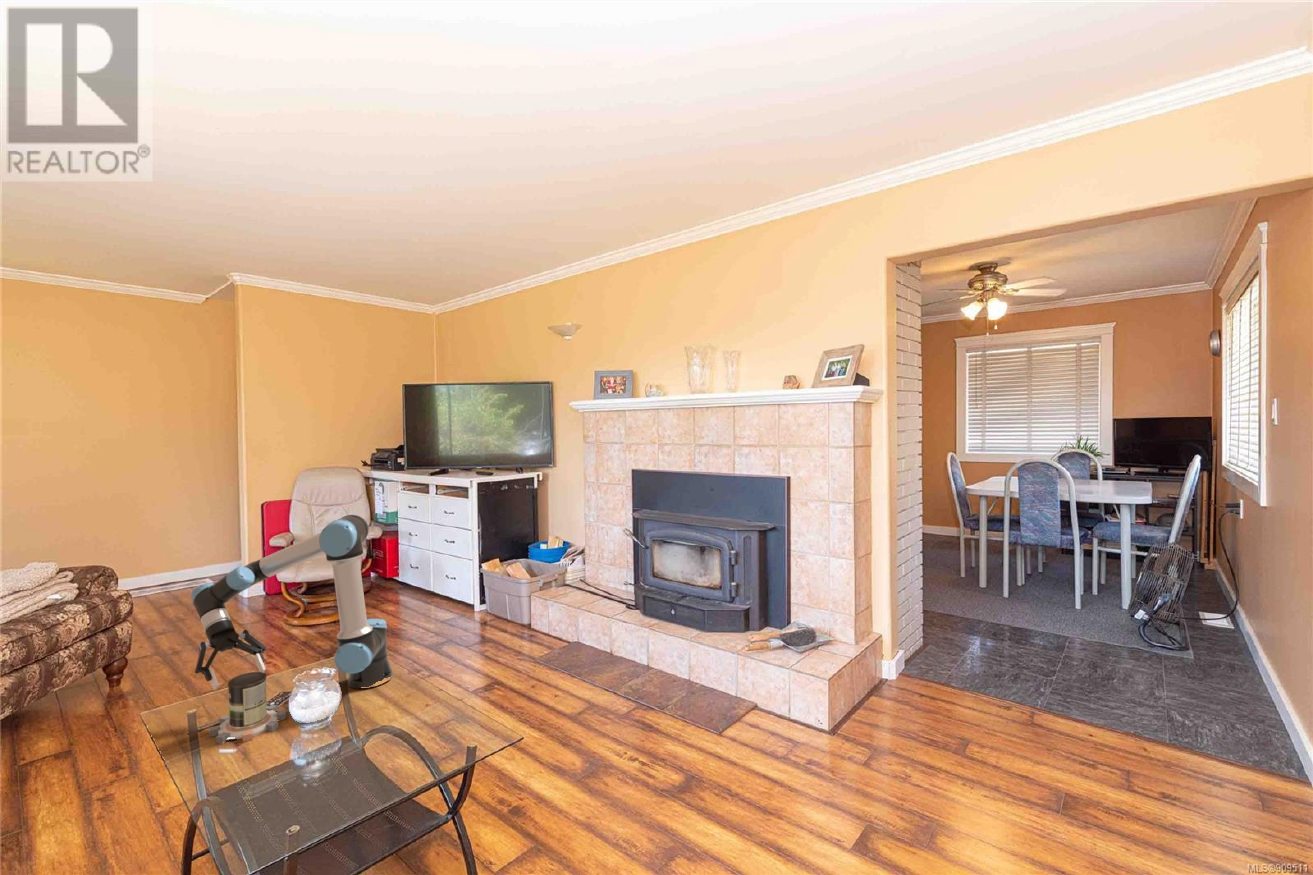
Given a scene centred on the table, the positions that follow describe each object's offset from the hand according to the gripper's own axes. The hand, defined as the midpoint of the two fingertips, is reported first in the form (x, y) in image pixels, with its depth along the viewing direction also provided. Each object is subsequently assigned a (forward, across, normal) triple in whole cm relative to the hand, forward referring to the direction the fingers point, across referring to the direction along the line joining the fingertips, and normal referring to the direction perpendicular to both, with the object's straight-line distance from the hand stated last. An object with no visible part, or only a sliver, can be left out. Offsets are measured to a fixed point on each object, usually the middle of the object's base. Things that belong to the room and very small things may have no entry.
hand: (240, 679), depth 194 cm
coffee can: (+12, -1, -7) cm, 14 cm away
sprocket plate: (+13, 0, -8) cm, 15 cm away
